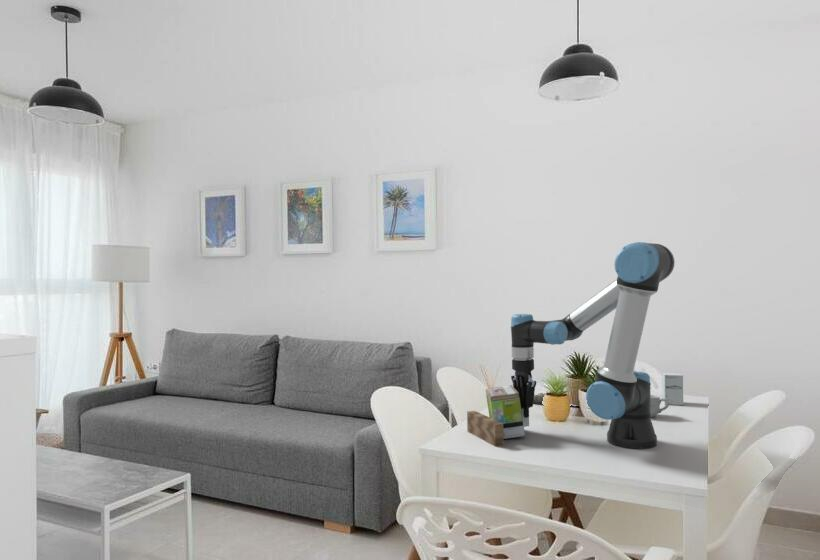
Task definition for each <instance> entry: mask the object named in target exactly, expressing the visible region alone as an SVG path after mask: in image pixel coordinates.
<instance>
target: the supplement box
mask: <svg viewBox="0 0 820 560" xmlns="http://www.w3.org/2000/svg"><path fill="white" fill-rule="evenodd" d="M661 384H662V385H661V389H662V391H661V398H665V399H667V400H668V402H669V406H670V405H671V406H684V374H682V373H681V372H667V371H666V372H664V371H663V372H661ZM662 403H663V404H664V405H665V406H666V402H665V401H662Z"/></svg>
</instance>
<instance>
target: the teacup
mask: <svg viewBox="0 0 820 560" xmlns="http://www.w3.org/2000/svg"><path fill="white" fill-rule="evenodd" d="M663 401H665V402H666V405H665V406H663V407H661V408H660V406H661V403H662V402H663ZM650 402H651V418H654V417H656V416H657V415H658V414H661V413H662V412H663V411H665V410H667V409H668V407H669V406H670V405H669V402H668V400H667V399H665V398H662V397H660V396H659V395H655V394H650Z"/></svg>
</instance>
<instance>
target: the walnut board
mask: <svg viewBox="0 0 820 560" xmlns="http://www.w3.org/2000/svg"><path fill="white" fill-rule="evenodd" d="M466 422H467V423H466V426H467V431H466V432H468V433H470V434H472V435H473V436H476V437H477V438H479V439H480V440H483V441H484V442H486V443H488V444H490V445H491V446H494V447H503V446H505V445H504V435H503V423H501V422H499V421H496V420H494V419H492V418H490V417H489V415H485V414H484V413H481V412H478V411H477V410H469V411H466Z"/></svg>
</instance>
